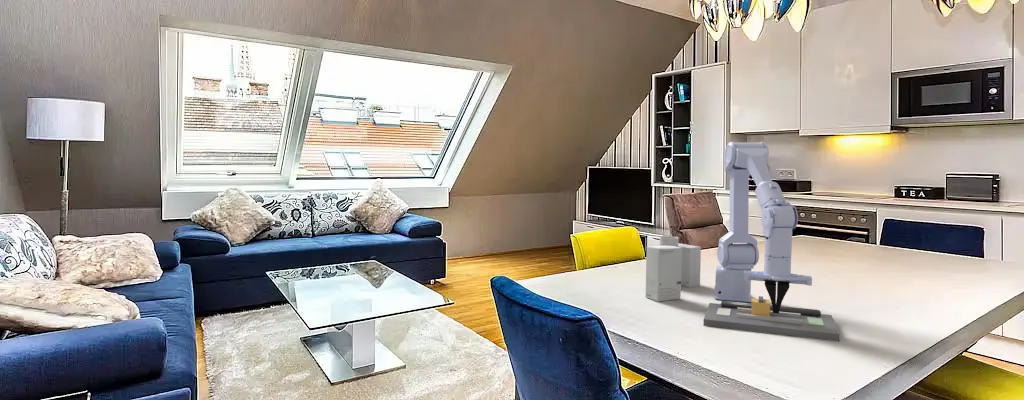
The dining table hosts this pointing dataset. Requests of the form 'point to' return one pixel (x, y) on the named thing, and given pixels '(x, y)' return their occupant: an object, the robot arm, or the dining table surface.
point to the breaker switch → (760, 306)
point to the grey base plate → (772, 320)
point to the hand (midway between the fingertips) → (775, 312)
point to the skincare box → (663, 273)
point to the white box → (686, 261)
